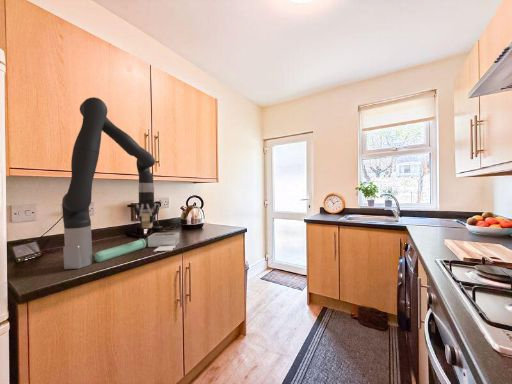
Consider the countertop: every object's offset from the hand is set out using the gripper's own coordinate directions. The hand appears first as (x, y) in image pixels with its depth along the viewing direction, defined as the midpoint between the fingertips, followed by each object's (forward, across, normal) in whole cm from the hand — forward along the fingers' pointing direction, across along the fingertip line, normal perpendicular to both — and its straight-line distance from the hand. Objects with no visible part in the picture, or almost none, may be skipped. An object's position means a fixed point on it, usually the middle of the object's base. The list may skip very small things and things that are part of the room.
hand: (146, 222), depth 119 cm
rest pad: (+15, +9, 0) cm, 18 cm away
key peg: (+3, 0, 0) cm, 3 cm away
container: (+16, -10, -6) cm, 20 cm away
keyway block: (+15, +5, +11) cm, 19 cm away
